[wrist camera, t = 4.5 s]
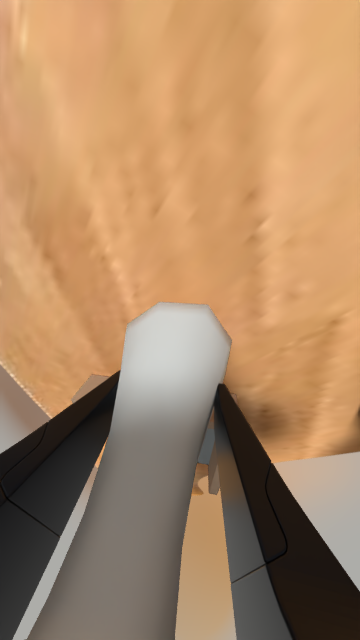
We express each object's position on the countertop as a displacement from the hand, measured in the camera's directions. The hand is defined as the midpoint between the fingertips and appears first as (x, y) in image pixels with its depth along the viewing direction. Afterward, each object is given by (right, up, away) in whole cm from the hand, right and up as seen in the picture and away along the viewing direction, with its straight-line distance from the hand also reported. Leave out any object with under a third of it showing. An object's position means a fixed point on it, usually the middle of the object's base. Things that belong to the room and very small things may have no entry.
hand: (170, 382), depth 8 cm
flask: (0, +1, +3) cm, 3 cm away
